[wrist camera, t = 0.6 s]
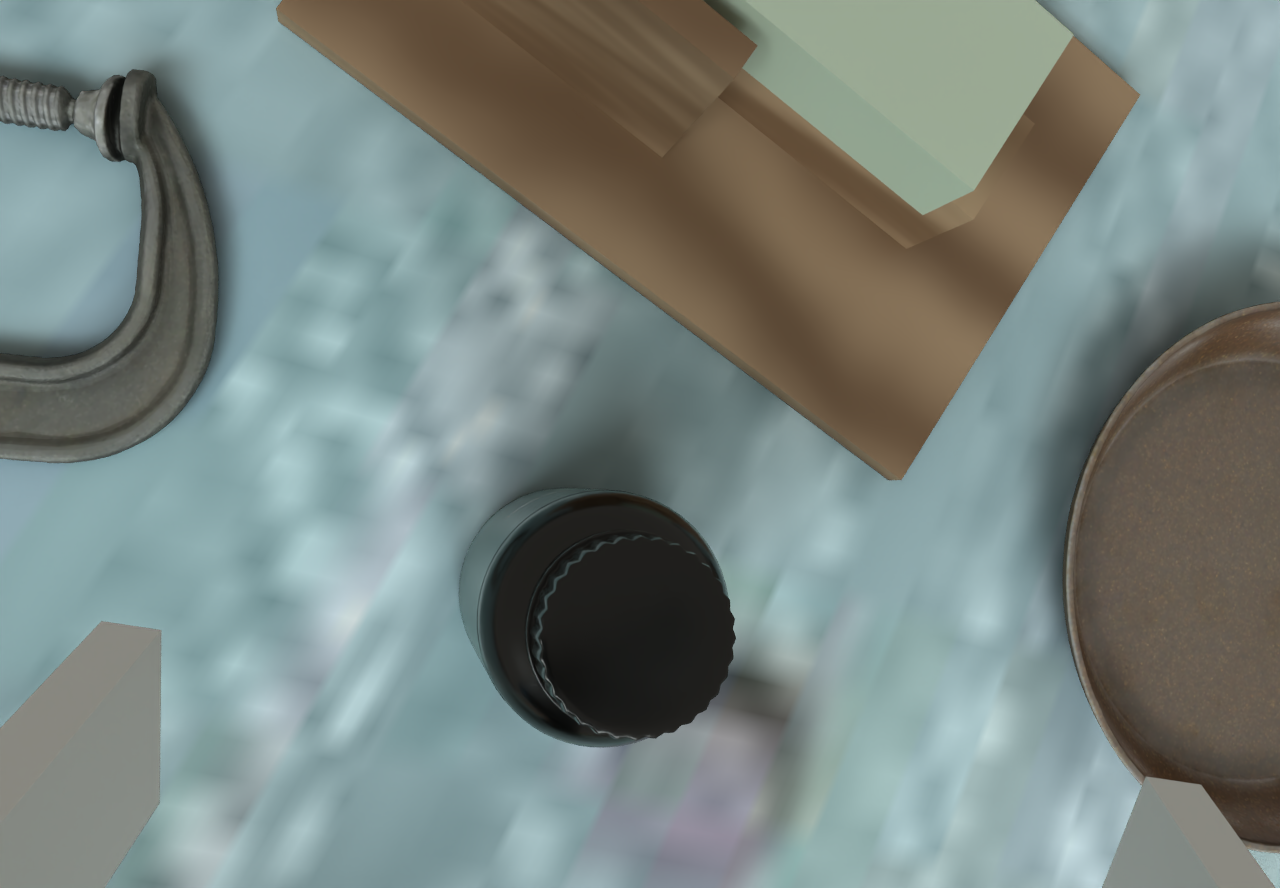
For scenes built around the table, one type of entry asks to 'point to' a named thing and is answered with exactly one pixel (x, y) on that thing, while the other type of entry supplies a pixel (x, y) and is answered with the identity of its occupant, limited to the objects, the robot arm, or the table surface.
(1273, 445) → the plant saucer
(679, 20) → the cradle
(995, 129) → the bar
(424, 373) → the table surface
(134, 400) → the c clamp
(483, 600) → the supplement bottle
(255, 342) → the table surface
